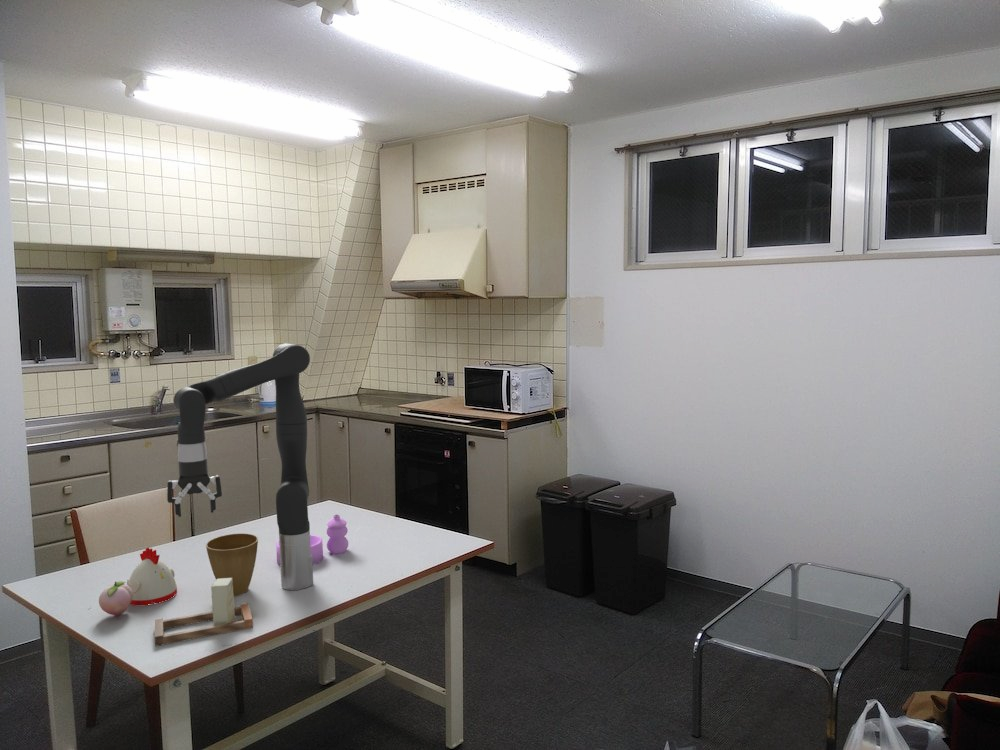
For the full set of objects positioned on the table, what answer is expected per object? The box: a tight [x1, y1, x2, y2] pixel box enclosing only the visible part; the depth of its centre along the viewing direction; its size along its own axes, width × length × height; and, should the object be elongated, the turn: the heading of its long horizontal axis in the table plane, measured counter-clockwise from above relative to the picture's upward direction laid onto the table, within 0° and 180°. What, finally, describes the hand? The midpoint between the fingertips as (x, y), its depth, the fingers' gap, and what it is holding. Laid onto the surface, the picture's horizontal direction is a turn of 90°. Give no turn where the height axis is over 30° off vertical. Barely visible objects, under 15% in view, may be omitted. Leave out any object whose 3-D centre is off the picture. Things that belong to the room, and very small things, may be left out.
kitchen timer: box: [126, 547, 178, 606], centre depth 220 cm, size 14×14×15 cm
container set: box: [275, 514, 349, 566], centre depth 253 cm, size 25×15×13 cm, turn 125°
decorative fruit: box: [98, 580, 133, 617], centre depth 207 cm, size 9×8×10 cm
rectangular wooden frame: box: [154, 603, 254, 647], centre depth 198 cm, size 24×11×2 cm, turn 115°
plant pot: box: [205, 532, 259, 597], centre depth 223 cm, size 15×15×16 cm
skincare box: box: [210, 578, 236, 626], centre depth 200 cm, size 6×4×12 cm
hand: (195, 514), depth 208 cm, fingers open, 8 cm apart
